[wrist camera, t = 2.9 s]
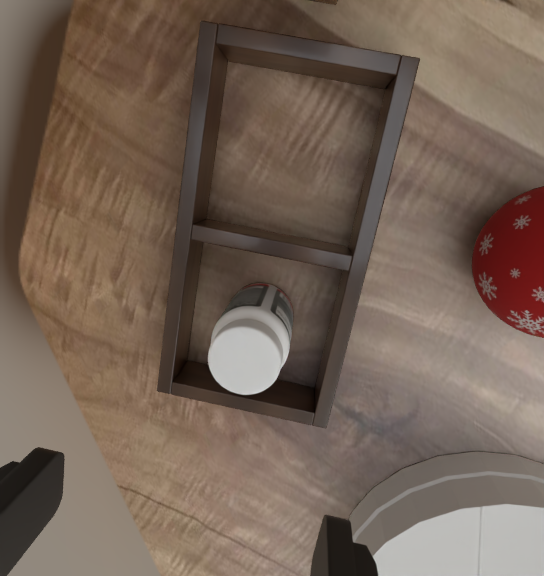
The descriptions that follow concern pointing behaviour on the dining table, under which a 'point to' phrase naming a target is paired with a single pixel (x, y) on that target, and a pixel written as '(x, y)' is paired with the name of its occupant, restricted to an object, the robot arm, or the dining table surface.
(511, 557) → the dish
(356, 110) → the dining table surface
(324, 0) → the riser
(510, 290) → the christmas ornament
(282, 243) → the rack
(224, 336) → the pill bottle
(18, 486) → the robot arm
